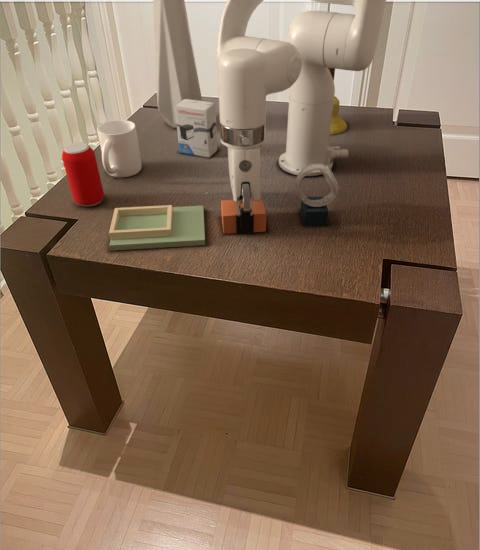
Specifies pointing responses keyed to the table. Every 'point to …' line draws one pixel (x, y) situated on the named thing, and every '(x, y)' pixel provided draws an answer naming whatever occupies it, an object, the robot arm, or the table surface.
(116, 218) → the base pad
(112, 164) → the mug
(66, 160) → the beverage can
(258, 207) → the orange box
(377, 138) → the table surface
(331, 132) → the handbell
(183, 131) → the ink box
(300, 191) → the grey ring dark base
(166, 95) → the vase
